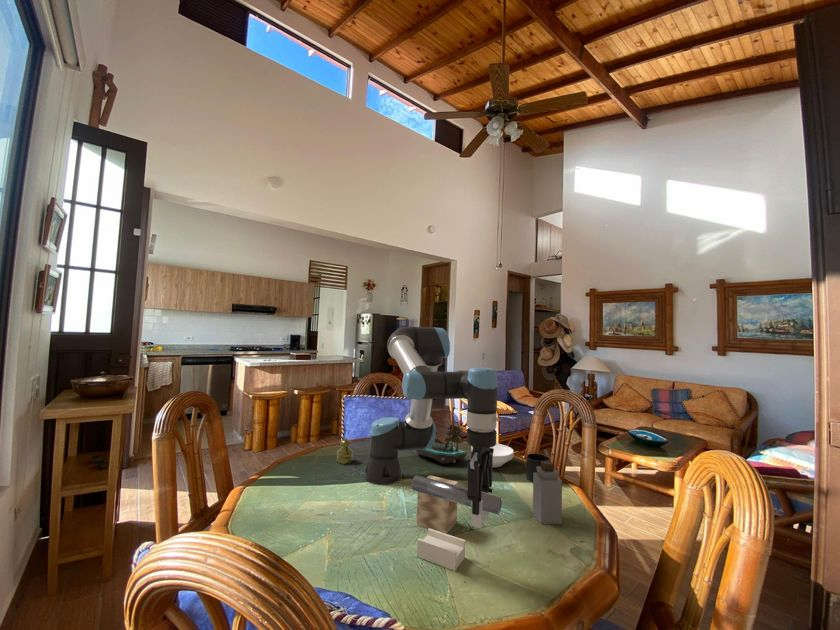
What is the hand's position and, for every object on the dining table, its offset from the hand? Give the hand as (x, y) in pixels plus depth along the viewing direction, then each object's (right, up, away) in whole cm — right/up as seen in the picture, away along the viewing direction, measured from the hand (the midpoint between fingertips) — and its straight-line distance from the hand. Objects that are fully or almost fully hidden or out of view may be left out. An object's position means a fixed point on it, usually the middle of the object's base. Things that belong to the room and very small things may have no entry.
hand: (479, 522), depth 91 cm
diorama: (-6, -17, +82) cm, 83 cm away
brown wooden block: (-10, -13, +21) cm, 27 cm away
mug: (+35, -17, +58) cm, 70 cm away
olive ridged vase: (-50, -15, +73) cm, 89 cm away
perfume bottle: (+26, -14, +27) cm, 40 cm away
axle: (-6, +3, +4) cm, 8 cm away
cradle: (-10, -12, +5) cm, 16 cm away
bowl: (+18, -17, +75) cm, 79 cm away
